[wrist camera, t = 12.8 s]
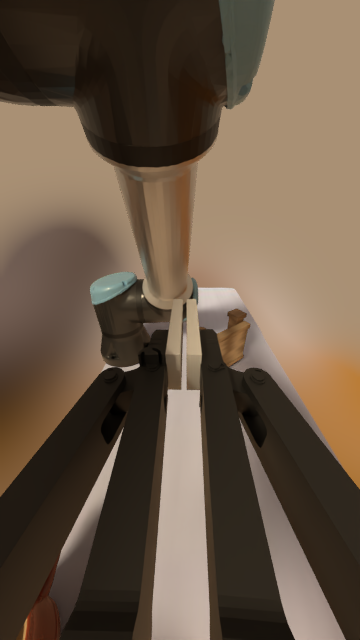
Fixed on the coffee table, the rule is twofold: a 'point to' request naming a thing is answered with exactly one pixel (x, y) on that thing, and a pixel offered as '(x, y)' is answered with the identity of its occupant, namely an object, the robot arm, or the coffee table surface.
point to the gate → (233, 342)
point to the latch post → (235, 317)
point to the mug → (43, 615)
